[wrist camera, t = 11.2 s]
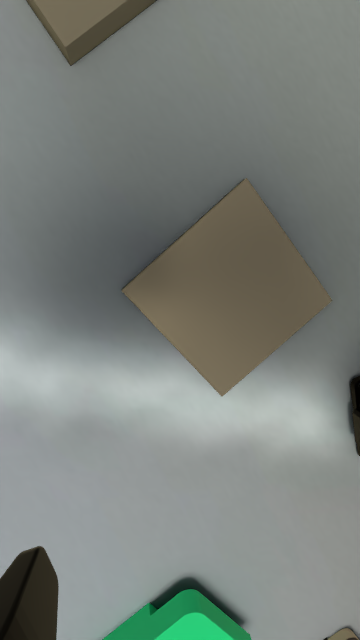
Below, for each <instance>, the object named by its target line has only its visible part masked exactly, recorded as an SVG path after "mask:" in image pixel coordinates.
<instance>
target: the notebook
mask: <svg viewBox="0 0 360 640" xmlns="http://www.w3.org/2000/svg"><path fill="white" fill-rule="evenodd" d="M324 640H359V639H358V638H357V637H356V635H355V634H354V633H353V632H352V630H350V629H348V628H344V629H342V630H340V631H338V632H337V633H335V634H334V635H332V636H331V637H330V638H328V639H327V638H325V639H324Z"/></svg>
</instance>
